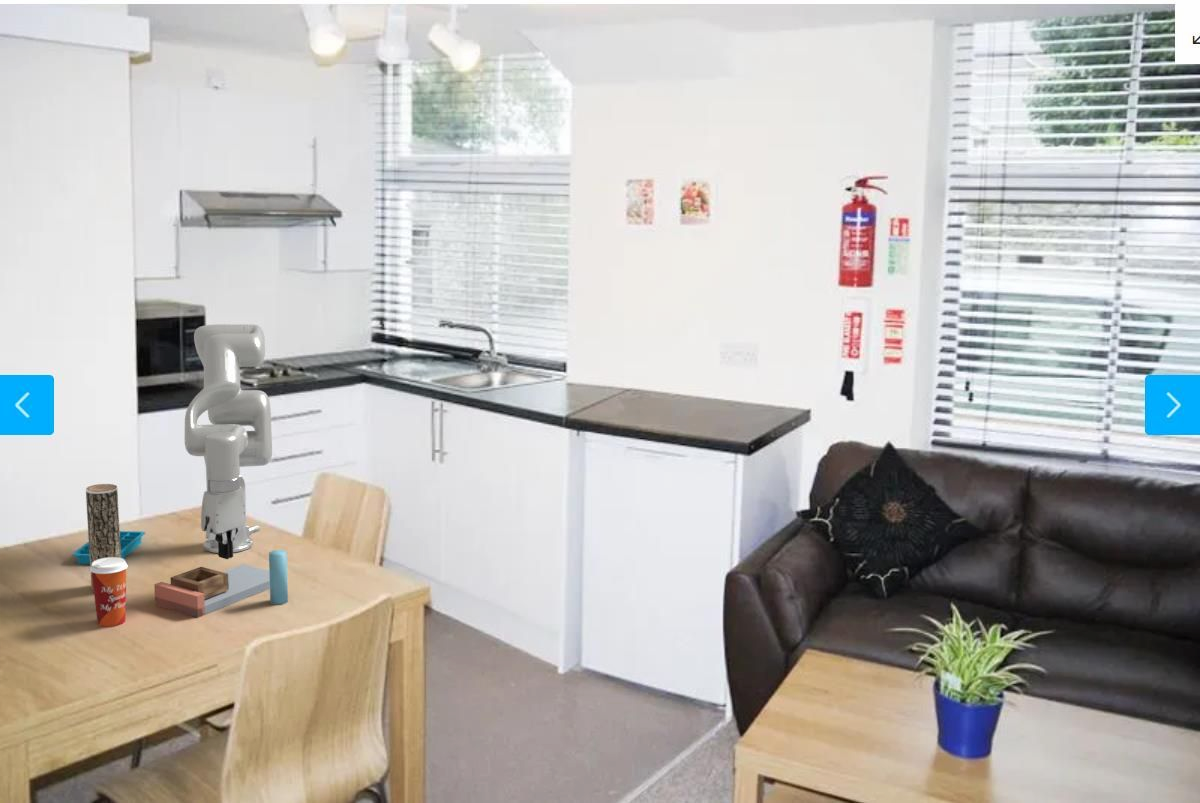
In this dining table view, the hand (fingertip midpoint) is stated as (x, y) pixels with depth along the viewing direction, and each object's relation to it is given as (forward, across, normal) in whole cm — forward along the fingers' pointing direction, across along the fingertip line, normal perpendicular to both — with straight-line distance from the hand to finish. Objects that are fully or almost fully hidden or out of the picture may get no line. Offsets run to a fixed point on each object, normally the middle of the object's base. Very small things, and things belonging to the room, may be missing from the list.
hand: (225, 557), depth 265 cm
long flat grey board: (+8, +2, +1) cm, 9 cm away
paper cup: (+8, +28, -6) cm, 30 cm away
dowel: (+8, -1, +16) cm, 18 cm away
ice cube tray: (+10, -2, -45) cm, 47 cm away
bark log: (+9, +15, -24) cm, 30 cm away
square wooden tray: (+6, +9, +1) cm, 11 cm away
